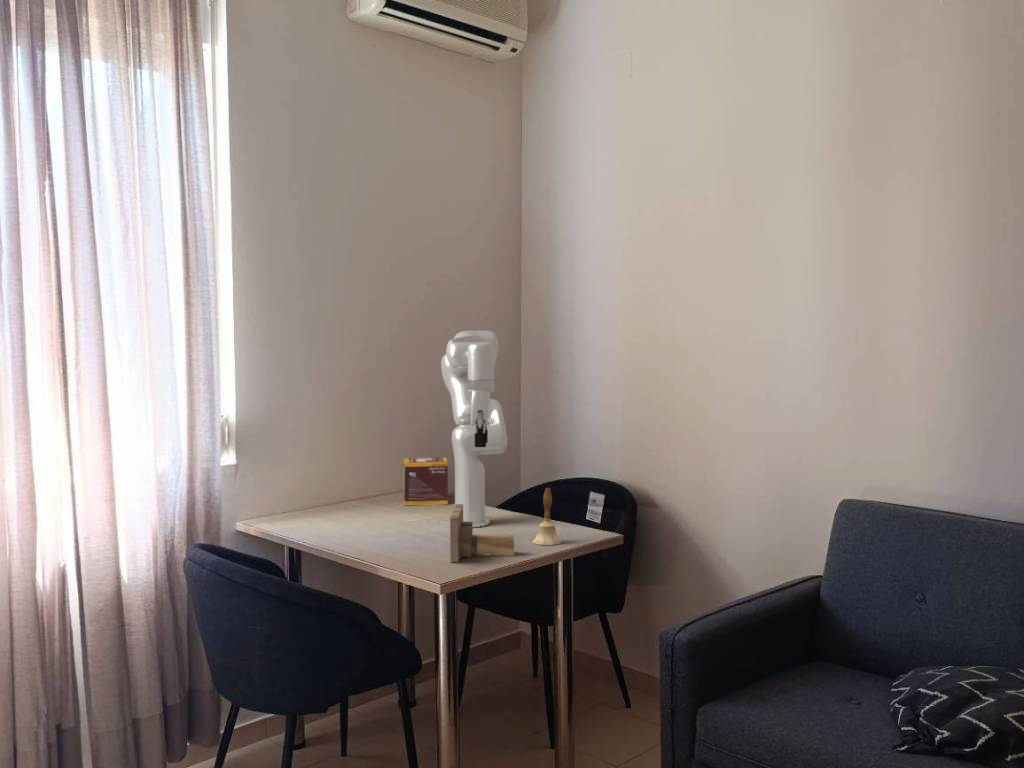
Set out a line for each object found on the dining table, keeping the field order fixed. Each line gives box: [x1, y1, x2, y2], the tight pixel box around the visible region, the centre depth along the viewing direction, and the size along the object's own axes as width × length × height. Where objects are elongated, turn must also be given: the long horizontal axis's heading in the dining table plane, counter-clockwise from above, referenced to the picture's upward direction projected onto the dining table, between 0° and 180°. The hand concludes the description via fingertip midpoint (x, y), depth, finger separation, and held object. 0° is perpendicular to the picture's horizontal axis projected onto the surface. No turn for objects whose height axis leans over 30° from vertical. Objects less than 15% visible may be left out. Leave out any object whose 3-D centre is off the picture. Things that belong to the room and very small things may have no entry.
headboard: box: [449, 504, 474, 563], centre depth 259 cm, size 20×5×12 cm, turn 179°
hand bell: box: [532, 487, 562, 546], centre depth 272 cm, size 8×8×16 cm
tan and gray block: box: [471, 533, 515, 556], centre depth 259 cm, size 4×14×5 cm, turn 89°
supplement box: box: [403, 456, 449, 506], centre depth 335 cm, size 10×15×16 cm
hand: (481, 445), depth 272 cm, fingers open, 9 cm apart
